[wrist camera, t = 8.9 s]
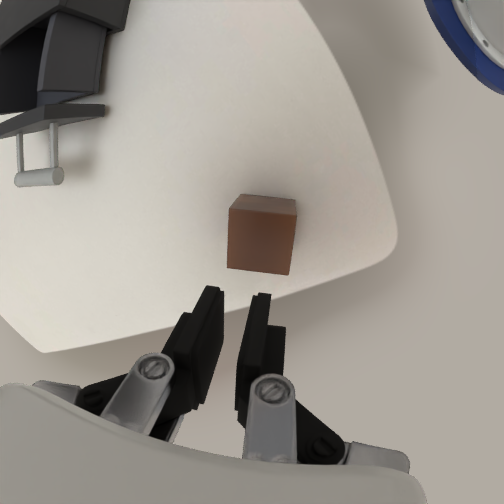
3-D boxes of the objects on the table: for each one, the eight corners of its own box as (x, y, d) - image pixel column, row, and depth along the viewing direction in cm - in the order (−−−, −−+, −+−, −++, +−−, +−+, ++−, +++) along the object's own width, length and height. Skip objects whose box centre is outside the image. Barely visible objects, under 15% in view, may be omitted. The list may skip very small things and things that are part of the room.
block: (295, 199, 22) (297, 215, 18) (289, 250, 24) (288, 275, 20) (240, 193, 22) (228, 208, 18) (237, 244, 24) (226, 268, 20)
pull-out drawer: (105, 174, 22) (47, 195, 15) (37, 178, 23) (-12, 197, 16) (121, -3, 14) (74, -28, 7) (47, 30, 15) (1, 23, 8)
